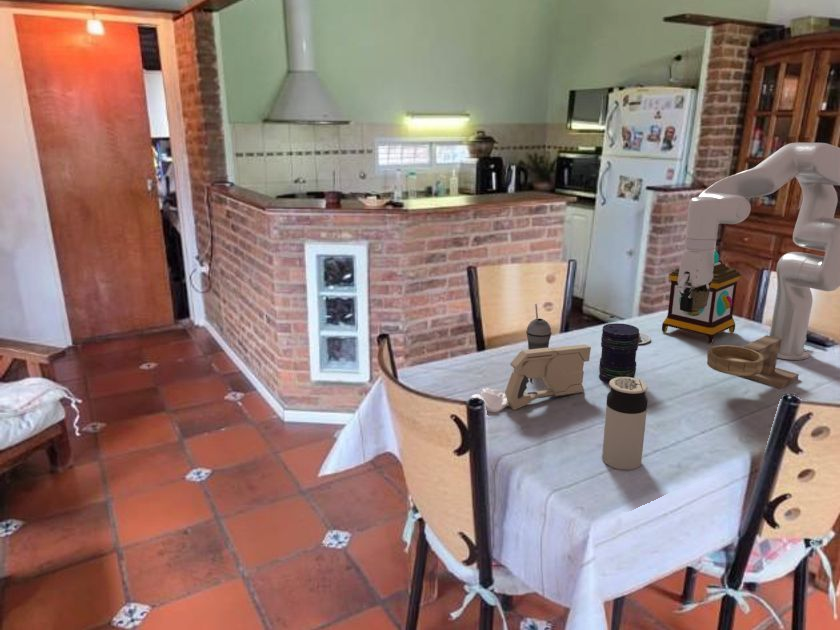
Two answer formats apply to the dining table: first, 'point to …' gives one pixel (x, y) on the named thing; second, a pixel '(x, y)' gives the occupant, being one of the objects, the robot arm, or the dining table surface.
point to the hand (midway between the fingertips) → (693, 307)
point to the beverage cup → (538, 333)
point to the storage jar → (618, 351)
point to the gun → (547, 373)
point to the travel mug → (625, 423)
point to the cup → (698, 299)
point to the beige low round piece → (643, 336)
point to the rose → (492, 399)
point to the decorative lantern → (718, 305)
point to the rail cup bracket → (752, 361)
